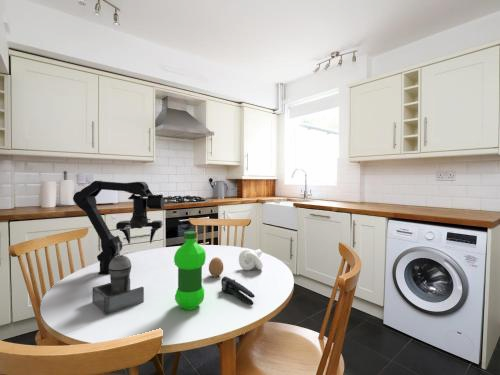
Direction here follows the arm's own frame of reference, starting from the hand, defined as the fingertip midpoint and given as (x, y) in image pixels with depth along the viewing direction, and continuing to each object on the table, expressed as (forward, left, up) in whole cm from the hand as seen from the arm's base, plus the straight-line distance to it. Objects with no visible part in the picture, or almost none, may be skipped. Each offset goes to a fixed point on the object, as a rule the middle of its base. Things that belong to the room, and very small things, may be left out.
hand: (140, 243), depth 118 cm
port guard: (0, -29, -13) cm, 32 cm away
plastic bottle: (+24, -36, -13) cm, 45 cm away
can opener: (+41, -31, -14) cm, 53 cm away
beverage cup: (0, -29, -13) cm, 32 cm away
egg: (+34, -10, -13) cm, 38 cm away
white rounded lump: (+52, -2, -13) cm, 54 cm away
